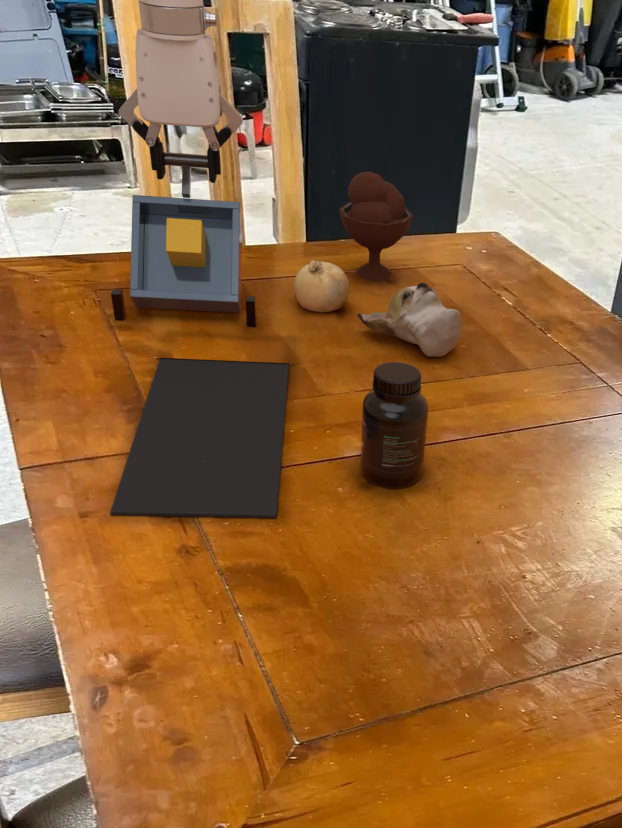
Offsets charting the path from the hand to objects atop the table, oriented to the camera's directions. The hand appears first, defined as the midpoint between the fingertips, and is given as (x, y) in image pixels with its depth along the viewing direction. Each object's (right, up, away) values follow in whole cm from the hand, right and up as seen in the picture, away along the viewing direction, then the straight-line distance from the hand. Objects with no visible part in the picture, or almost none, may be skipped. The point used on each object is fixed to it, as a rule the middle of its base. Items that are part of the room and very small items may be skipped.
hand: (187, 176), depth 119 cm
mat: (+8, -35, -16) cm, 39 cm away
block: (0, -9, +2) cm, 9 cm away
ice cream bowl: (+23, -6, +21) cm, 32 cm away
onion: (+17, -15, +9) cm, 24 cm away
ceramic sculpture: (+31, -21, +4) cm, 38 cm away
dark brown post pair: (0, -20, +1) cm, 20 cm away
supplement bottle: (+29, -43, -22) cm, 56 cm away
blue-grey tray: (0, -7, +3) cm, 8 cm away
